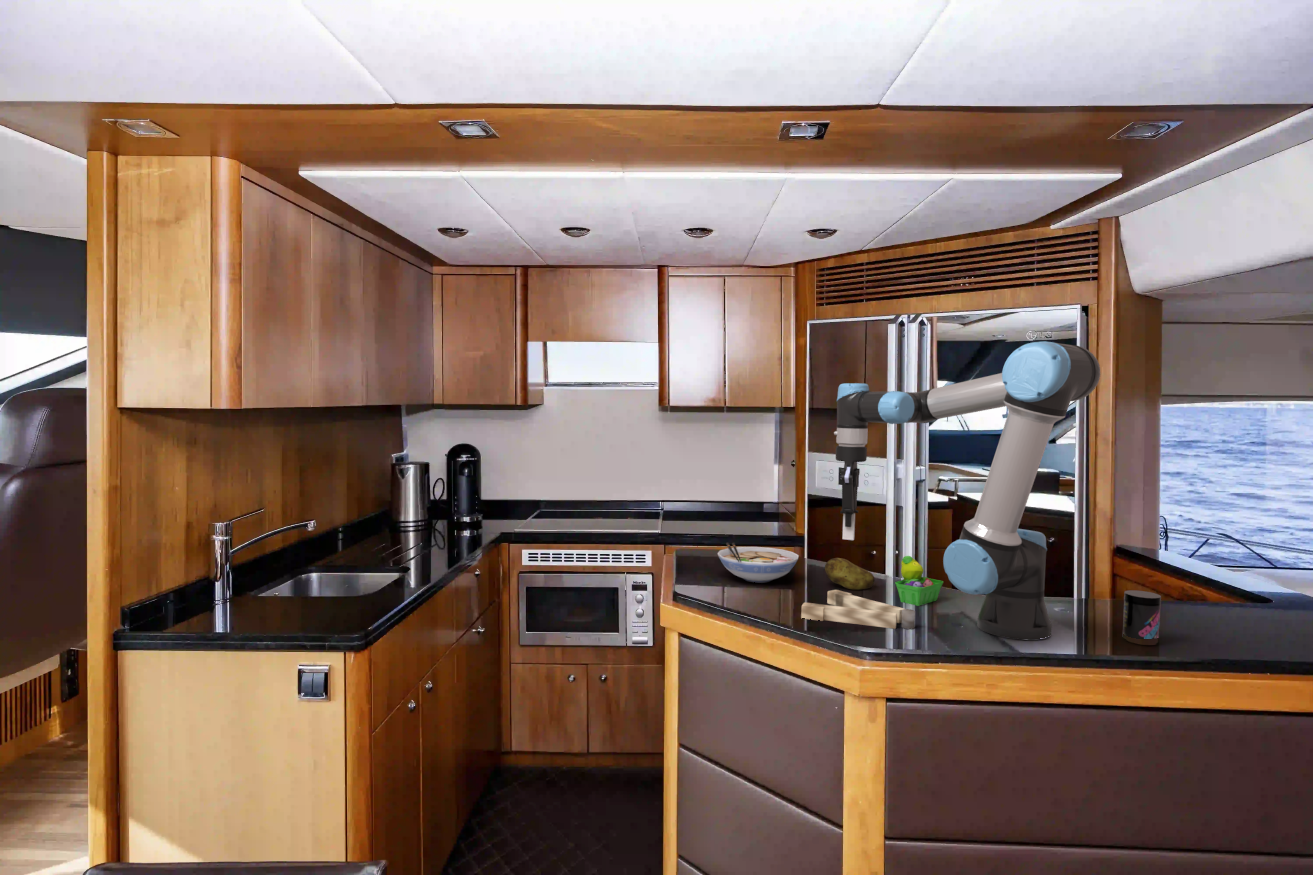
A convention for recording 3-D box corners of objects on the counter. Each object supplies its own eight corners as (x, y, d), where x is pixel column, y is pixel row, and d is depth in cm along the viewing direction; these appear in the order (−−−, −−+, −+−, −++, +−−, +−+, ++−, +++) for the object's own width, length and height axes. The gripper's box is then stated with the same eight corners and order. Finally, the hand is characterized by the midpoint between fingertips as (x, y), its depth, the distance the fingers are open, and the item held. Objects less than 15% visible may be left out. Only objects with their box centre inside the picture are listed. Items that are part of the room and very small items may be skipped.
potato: (870, 594, 207) (871, 564, 206) (821, 588, 212) (822, 559, 212) (875, 587, 214) (876, 558, 214) (828, 582, 220) (829, 553, 219)
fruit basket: (920, 608, 194) (922, 563, 193) (889, 600, 200) (890, 557, 200) (944, 600, 201) (945, 557, 201) (912, 594, 208) (914, 551, 207)
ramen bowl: (806, 591, 208) (806, 561, 208) (719, 589, 209) (720, 559, 208) (791, 571, 233) (791, 543, 233) (714, 569, 234) (714, 542, 233)
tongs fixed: (915, 626, 178) (915, 609, 177) (913, 632, 173) (913, 615, 173) (805, 613, 187) (805, 597, 187) (801, 618, 183) (801, 602, 182)
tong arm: (907, 620, 181) (907, 608, 181) (899, 623, 179) (899, 610, 179) (835, 601, 197) (835, 589, 197) (827, 603, 196) (827, 591, 195)
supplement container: (1132, 646, 166) (1134, 597, 165) (1115, 636, 173) (1118, 589, 172) (1165, 647, 166) (1167, 598, 165) (1147, 637, 172) (1150, 590, 172)
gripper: (840, 443, 203) (837, 533, 204) (831, 446, 191) (828, 542, 192) (870, 444, 200) (867, 536, 201) (863, 447, 188) (860, 544, 189)
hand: (848, 539), depth 196 cm, fingers closed
